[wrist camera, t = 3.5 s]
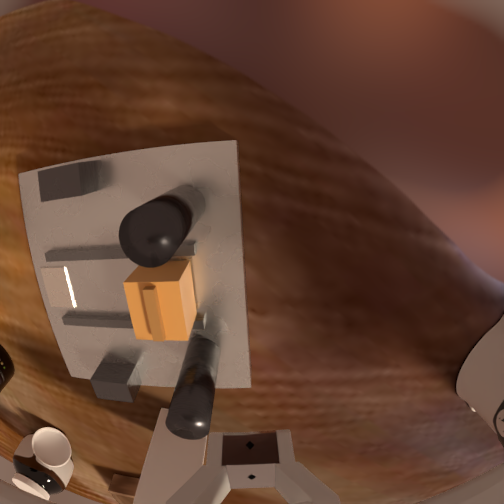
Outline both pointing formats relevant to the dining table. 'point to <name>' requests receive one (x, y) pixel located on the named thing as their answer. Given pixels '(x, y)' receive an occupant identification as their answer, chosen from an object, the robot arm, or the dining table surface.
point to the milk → (167, 464)
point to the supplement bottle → (5, 368)
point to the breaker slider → (162, 301)
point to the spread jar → (43, 463)
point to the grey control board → (146, 255)
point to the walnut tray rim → (124, 488)
